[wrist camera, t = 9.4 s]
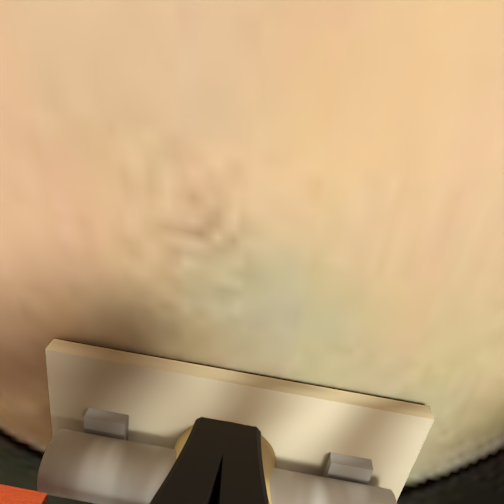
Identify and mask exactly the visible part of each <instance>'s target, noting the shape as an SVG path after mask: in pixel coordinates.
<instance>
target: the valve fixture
mask: <svg viewBox="0 0 504 504" xmlns="http://www.w3.org/2000/svg"><path fill="white" fill-rule="evenodd" d="M45 355H46V367H47V379H48V391H49V403H50V415H51V427H52V439H51V441H50V442H49V444H48V446H47V448H46V450H45V453H44V455H43V458H42V461H41V464H40V468H39V472H38V477H37V489H38V492H43V493H47V495H53V496H58V497H63V498H69V499H74V500H79V501H85V502H90V503H95V504H149V503H150V502H151V500H152V499H153V497H154V495H155V494H156V492H157V491H158V489H159V488H160V486H161V484H162V483H163V481H164V480H165V478H166V477H167V475H168V473H169V472H170V470H171V468H172V466H173V465H174V463H175V461H176V460H177V458H178V456H179V454H180V452H181V450H182V449H183V447H184V445H185V443H186V441H187V439H188V437H189V435H190V432H191V430H192V428H193V425H194V423H195V420H196V419H198V418H200V417H205V418H211V419H216V420H222V421H227V422H233V423H238V424H244V425H249V426H255V427H257V428H258V429H259V430H260V431H261V451H262V461H263V469H264V476H265V483H266V489H267V495H268V500H269V504H397V500H398V498H399V496H400V493H401V491H402V489H403V487H404V485H405V482H406V480H407V478H408V476H409V474H410V471H411V469H412V467H413V465H414V463H415V460H416V458H417V456H418V454H419V452H420V449H421V447H422V445H423V443H424V441H425V439H426V436H427V434H428V432H429V430H430V428H431V425H432V423H433V421H434V418H433V415H432V412H431V409H430V406H425V405H420V404H414V403H409V402H403V401H397V400H392V399H386V398H381V397H375V396H370V395H364V394H359V393H353V392H347V391H342V390H336V389H331V388H325V387H320V386H314V385H309V384H303V383H297V382H292V381H286V380H281V379H275V378H270V377H264V376H259V375H253V374H247V373H242V372H236V371H231V370H225V369H220V368H214V367H208V366H203V365H197V364H192V363H186V362H181V361H175V360H170V359H164V358H158V357H153V356H147V355H142V354H136V353H131V352H125V351H120V350H114V349H108V348H103V347H97V346H92V345H86V344H81V343H75V342H70V341H64V340H58V339H53V340H52V341H51V343H50V344H49V345H48V346H47V347H46V349H45Z"/></svg>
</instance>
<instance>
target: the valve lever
mask: <svg viewBox="0 0 504 504" xmlns="http://www.w3.org/2000/svg"><path fill="white" fill-rule="evenodd" d="M0 504H48V496H47V493H43V492H38V491H33V490H27V489H22V488H17V487H12V486H7V485H1V484H0Z"/></svg>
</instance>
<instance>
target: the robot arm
mask: <svg viewBox="0 0 504 504" xmlns="http://www.w3.org/2000/svg"><path fill="white" fill-rule="evenodd" d="M149 504H269V500H268V495H267V489H266V483H265V476H264V469H263V461H262V451H261V431H260V430H259V429H258V428H257V427H255V426H249V425H244V424H238V423H233V422H227V421H222V420H216V419H211V418H205V417H200V418H198V419H196V420H195V423H194V425H193V428H192V430H191V432H190V435H189V437H188V439H187V441H186V443H185V445H184V447H183V449H182V450H181V452H180V454H179V456H178V458H177V460H176V461H175V463H174V465H173V466H172V468H171V470H170V472H169V473H168V475H167V477H166V478H165V480H164V481H163V483H162V484H161V486H160V488H159V489H158V491H157V492H156V494H155V495H154V497H153V499H152V500H151V502H150V503H149Z"/></svg>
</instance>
